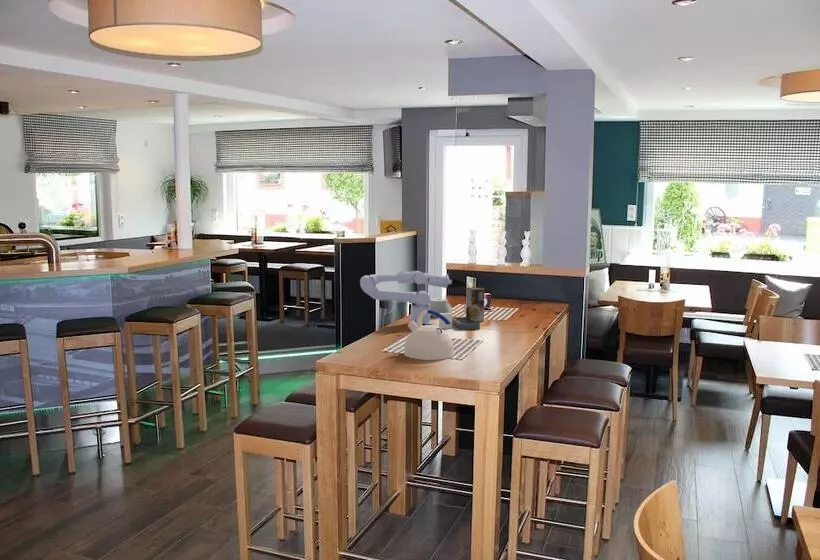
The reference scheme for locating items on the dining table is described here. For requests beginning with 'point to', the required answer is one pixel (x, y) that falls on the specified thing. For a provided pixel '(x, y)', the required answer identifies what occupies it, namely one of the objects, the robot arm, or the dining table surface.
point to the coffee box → (475, 303)
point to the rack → (465, 323)
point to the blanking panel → (448, 317)
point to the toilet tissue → (440, 306)
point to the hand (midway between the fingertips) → (463, 284)
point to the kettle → (428, 340)
